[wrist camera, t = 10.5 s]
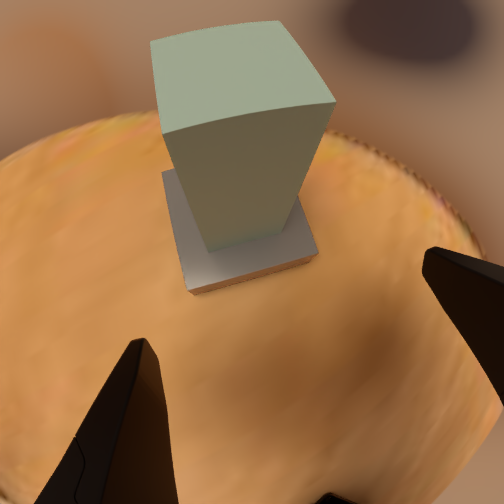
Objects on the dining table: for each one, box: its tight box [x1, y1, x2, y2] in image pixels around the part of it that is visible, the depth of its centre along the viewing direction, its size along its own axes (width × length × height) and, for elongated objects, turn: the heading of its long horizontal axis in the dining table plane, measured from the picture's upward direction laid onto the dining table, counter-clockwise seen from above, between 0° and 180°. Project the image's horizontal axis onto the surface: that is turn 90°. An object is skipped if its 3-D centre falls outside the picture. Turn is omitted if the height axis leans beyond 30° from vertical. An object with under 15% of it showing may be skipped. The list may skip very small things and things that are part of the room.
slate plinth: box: [162, 168, 318, 295], centre depth 21 cm, size 9×9×3 cm
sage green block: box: [150, 21, 336, 252], centre depth 14 cm, size 5×5×12 cm
